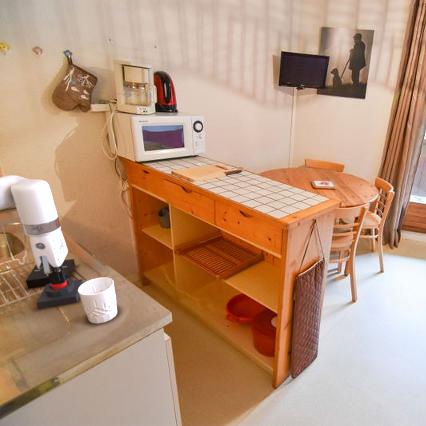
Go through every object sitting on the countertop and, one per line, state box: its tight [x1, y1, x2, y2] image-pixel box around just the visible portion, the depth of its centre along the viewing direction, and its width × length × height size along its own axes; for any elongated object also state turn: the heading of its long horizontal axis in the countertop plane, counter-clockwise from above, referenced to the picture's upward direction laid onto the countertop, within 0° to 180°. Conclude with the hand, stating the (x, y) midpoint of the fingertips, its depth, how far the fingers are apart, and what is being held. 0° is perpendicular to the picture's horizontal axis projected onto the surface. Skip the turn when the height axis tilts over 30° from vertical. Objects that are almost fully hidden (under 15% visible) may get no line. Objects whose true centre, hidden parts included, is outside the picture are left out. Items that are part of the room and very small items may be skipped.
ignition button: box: [51, 280, 67, 290], centre depth 93 cm, size 4×4×2 cm
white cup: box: [78, 276, 118, 325], centre depth 86 cm, size 8×8×10 cm
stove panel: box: [25, 258, 76, 290], centre depth 101 cm, size 10×10×3 cm
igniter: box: [36, 278, 84, 310], centre depth 93 cm, size 9×9×4 cm
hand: (59, 282), depth 92 cm, fingers closed
